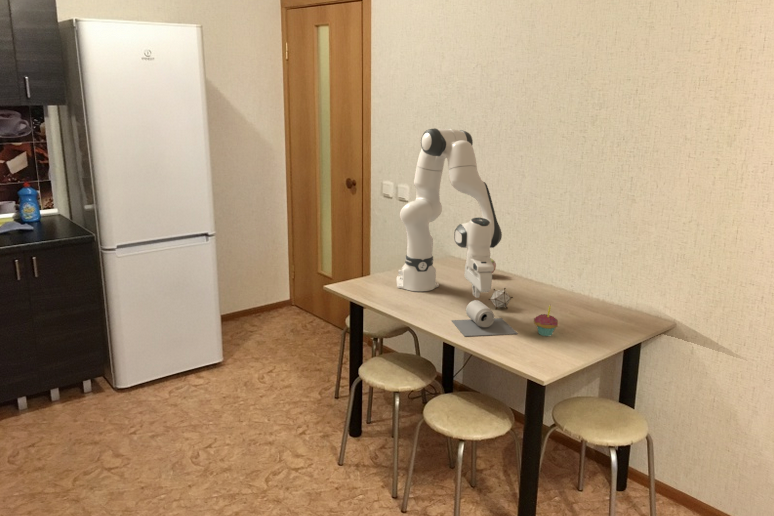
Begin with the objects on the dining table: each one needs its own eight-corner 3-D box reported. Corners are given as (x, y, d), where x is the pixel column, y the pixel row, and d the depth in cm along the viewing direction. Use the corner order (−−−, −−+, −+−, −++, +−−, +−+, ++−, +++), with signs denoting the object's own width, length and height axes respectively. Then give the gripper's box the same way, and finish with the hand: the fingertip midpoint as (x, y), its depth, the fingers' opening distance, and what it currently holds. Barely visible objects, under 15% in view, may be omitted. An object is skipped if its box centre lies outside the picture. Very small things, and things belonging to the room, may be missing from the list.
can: (472, 295, 247) (485, 306, 236) (487, 305, 250) (500, 316, 239) (461, 312, 248) (473, 323, 237) (475, 321, 251) (488, 332, 239)
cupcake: (561, 337, 234) (564, 305, 231) (540, 339, 232) (543, 307, 229) (549, 328, 242) (552, 297, 239) (528, 330, 240) (531, 299, 237)
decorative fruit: (499, 276, 307) (500, 255, 304) (489, 279, 301) (491, 258, 298) (482, 272, 313) (483, 252, 310) (472, 275, 307) (473, 255, 304)
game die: (503, 318, 263) (512, 304, 255) (483, 309, 263) (492, 294, 256) (508, 302, 268) (517, 288, 261) (489, 293, 269) (497, 279, 261)
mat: (451, 321, 247) (451, 320, 247) (501, 318, 251) (501, 317, 251) (464, 336, 232) (464, 336, 232) (517, 334, 236) (517, 333, 236)
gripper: (461, 254, 255) (459, 288, 259) (479, 268, 236) (477, 305, 239) (476, 254, 257) (474, 288, 260) (495, 268, 237) (493, 304, 241)
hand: (476, 296), depth 250 cm, fingers closed
